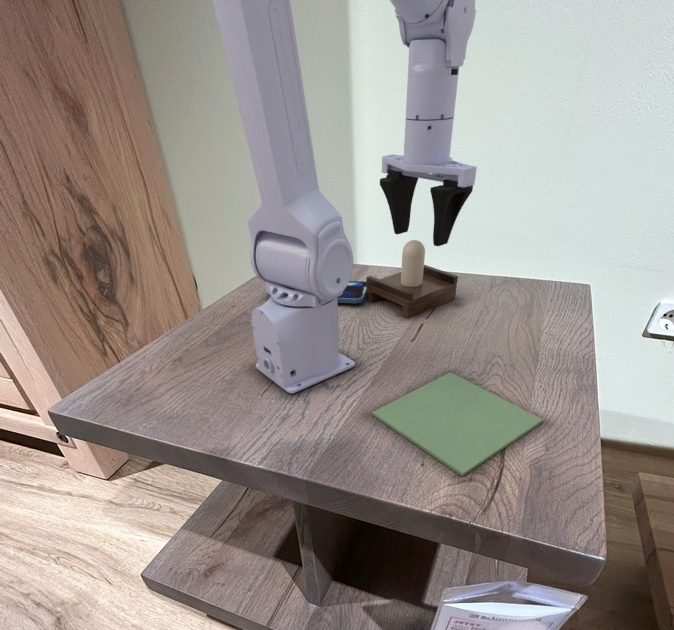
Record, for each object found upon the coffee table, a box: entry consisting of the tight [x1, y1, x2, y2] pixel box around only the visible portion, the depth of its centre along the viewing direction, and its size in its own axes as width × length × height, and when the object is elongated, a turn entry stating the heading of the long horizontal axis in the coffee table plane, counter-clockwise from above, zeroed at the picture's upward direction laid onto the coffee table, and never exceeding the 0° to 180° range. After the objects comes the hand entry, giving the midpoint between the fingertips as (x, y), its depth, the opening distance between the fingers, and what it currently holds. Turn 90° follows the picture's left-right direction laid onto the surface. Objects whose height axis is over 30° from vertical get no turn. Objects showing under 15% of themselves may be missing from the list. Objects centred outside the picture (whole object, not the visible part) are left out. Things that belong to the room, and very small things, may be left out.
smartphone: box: [268, 280, 367, 305], centre depth 71 cm, size 7×1×15 cm
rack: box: [365, 264, 459, 319], centre depth 68 cm, size 10×9×4 cm
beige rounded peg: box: [400, 239, 426, 287], centre depth 65 cm, size 3×3×6 cm
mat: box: [371, 371, 544, 477], centre depth 46 cm, size 12×12×1 cm
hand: (420, 238), depth 63 cm, fingers open, 7 cm apart
